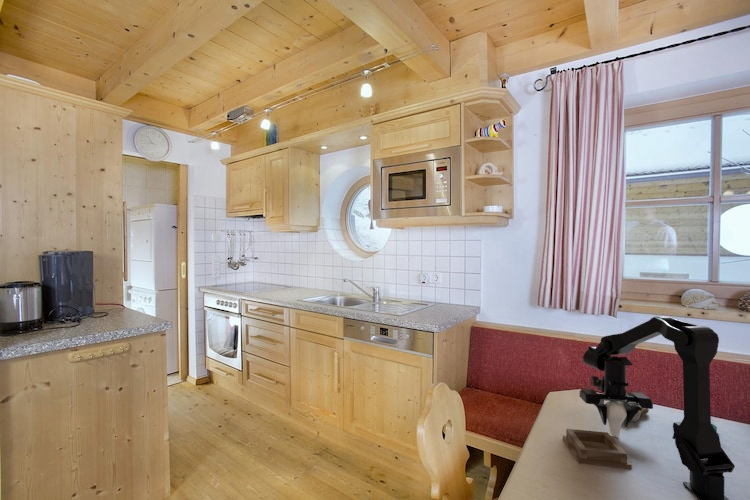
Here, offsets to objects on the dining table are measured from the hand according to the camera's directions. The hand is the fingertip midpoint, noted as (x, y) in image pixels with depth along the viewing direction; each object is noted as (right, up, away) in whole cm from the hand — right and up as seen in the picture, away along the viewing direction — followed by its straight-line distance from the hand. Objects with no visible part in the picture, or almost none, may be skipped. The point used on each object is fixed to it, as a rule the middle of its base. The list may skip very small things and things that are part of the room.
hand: (614, 425), depth 111 cm
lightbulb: (0, -4, 0) cm, 4 cm away
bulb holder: (-12, -3, -9) cm, 15 cm away
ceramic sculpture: (+15, -4, +14) cm, 21 cm away
